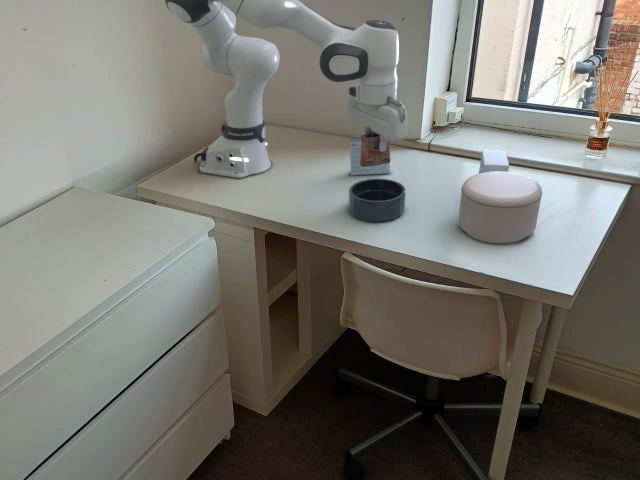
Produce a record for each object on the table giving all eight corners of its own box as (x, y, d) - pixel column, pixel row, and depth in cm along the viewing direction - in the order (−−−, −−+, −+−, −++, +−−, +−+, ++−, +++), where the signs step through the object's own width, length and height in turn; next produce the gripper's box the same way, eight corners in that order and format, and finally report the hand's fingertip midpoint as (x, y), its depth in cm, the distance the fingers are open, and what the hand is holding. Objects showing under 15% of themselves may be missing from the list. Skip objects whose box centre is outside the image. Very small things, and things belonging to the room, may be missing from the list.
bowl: (344, 220, 175) (344, 199, 171) (354, 197, 186) (354, 177, 182) (400, 225, 170) (401, 203, 167) (407, 200, 181) (408, 180, 178)
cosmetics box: (504, 202, 176) (509, 164, 170) (478, 201, 177) (483, 164, 171) (501, 185, 184) (506, 149, 178) (476, 185, 186) (480, 149, 180)
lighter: (363, 168, 169) (364, 129, 163) (357, 163, 171) (358, 125, 166) (392, 162, 170) (394, 124, 164) (387, 158, 173) (388, 120, 167)
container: (462, 209, 175) (467, 166, 168) (536, 216, 168) (544, 172, 162) (452, 241, 161) (457, 197, 155) (533, 250, 155) (541, 204, 148)
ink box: (389, 171, 199) (390, 133, 192) (389, 174, 197) (391, 136, 190) (349, 172, 200) (350, 135, 194) (350, 175, 198) (350, 138, 192)
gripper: (416, 100, 154) (412, 157, 161) (364, 81, 169) (363, 133, 177) (393, 106, 152) (391, 163, 159) (343, 86, 167) (343, 139, 175)
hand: (376, 147), depth 168 cm, fingers closed on lighter, 3 cm apart
